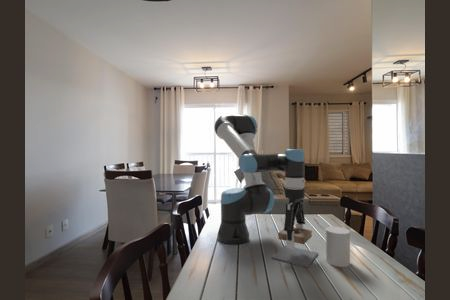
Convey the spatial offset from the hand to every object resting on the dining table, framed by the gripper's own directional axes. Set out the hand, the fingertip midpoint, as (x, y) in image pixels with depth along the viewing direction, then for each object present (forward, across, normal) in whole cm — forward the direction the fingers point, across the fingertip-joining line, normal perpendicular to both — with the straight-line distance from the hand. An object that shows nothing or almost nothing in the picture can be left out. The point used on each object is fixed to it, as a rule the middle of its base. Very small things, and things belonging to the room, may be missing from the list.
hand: (295, 243), depth 101 cm
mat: (+5, 0, 0) cm, 5 cm away
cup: (+5, +4, -15) cm, 16 cm away
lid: (-2, 0, 0) cm, 2 cm away
